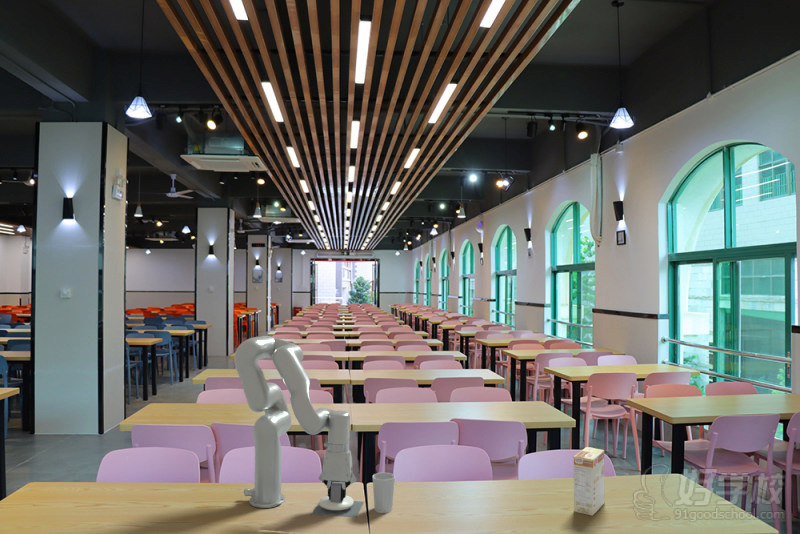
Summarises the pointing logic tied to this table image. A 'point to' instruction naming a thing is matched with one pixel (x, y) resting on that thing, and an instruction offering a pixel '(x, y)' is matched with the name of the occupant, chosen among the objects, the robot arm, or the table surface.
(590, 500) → the coffeecake box
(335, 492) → the lid
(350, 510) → the mat
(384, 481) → the cup
